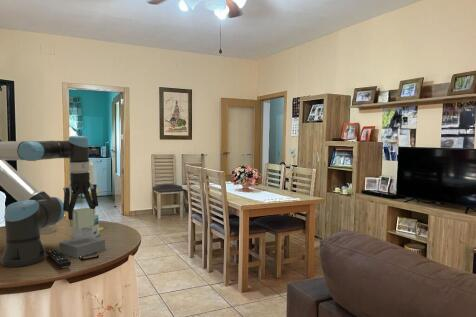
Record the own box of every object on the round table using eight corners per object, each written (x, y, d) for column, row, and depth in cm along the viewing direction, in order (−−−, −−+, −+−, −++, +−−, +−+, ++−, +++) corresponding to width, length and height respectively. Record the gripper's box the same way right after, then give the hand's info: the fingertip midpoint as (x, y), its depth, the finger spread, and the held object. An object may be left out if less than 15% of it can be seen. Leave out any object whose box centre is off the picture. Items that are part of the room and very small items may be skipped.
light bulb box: (99, 234, 178) (99, 213, 177) (93, 238, 171) (92, 216, 170) (79, 234, 179) (79, 213, 178) (72, 238, 172) (71, 216, 172)
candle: (93, 232, 181) (90, 160, 179) (79, 230, 185) (76, 160, 183) (107, 228, 190) (105, 159, 188) (94, 226, 194) (91, 158, 192)
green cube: (78, 228, 146) (77, 212, 146) (70, 226, 151) (69, 210, 150) (94, 225, 152) (93, 209, 151) (85, 223, 156) (85, 207, 156)
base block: (77, 259, 143) (77, 247, 143) (59, 253, 150) (59, 242, 150) (105, 250, 154) (104, 239, 153) (87, 245, 161) (86, 235, 161)
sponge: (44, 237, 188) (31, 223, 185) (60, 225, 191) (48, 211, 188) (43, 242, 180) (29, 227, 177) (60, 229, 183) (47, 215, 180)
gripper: (60, 174, 140) (62, 231, 141) (106, 170, 155) (107, 221, 157) (51, 173, 144) (54, 228, 146) (97, 169, 160) (98, 219, 161)
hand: (82, 225), depth 151 cm, fingers closed on green cube, 7 cm apart
